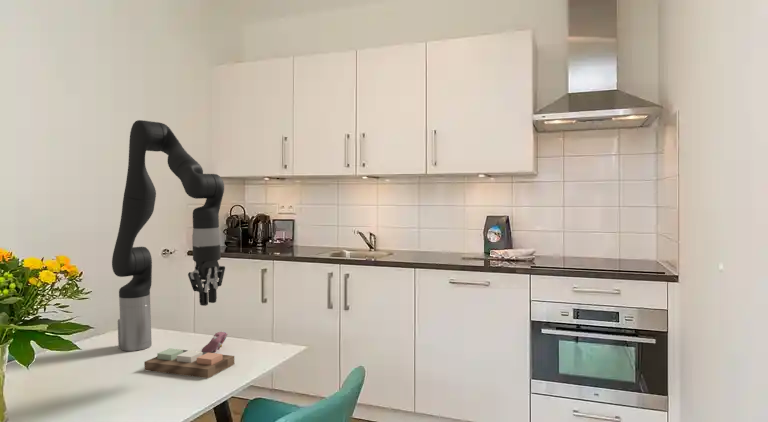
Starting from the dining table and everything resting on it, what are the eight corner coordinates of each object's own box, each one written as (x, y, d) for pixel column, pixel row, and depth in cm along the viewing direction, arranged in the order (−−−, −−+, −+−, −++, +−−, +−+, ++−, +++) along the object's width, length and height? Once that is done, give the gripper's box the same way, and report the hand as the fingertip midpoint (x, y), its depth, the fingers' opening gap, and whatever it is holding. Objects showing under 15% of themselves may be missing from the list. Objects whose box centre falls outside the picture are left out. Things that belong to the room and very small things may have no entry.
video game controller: (212, 360, 161) (221, 340, 161) (199, 353, 161) (208, 333, 161) (223, 350, 171) (231, 331, 171) (210, 344, 171) (219, 325, 171)
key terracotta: (196, 366, 146) (196, 357, 146) (208, 360, 151) (208, 352, 151) (211, 367, 144) (211, 359, 144) (222, 362, 149) (222, 354, 149)
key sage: (157, 361, 151) (157, 353, 150) (170, 356, 155) (169, 348, 155) (171, 363, 149) (171, 354, 149) (183, 357, 154) (183, 349, 154)
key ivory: (176, 363, 148) (176, 355, 148) (188, 358, 153) (188, 350, 153) (191, 365, 147) (190, 357, 146) (202, 359, 151) (202, 351, 151)
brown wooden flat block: (144, 370, 148) (144, 360, 148) (174, 357, 159) (174, 348, 159) (208, 378, 141) (207, 367, 140) (234, 364, 152) (234, 354, 152)
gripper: (211, 241, 154) (213, 298, 155) (178, 246, 141) (180, 308, 141) (232, 241, 152) (234, 299, 152) (201, 246, 138) (202, 310, 139)
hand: (208, 303), depth 147 cm, fingers open, 3 cm apart
